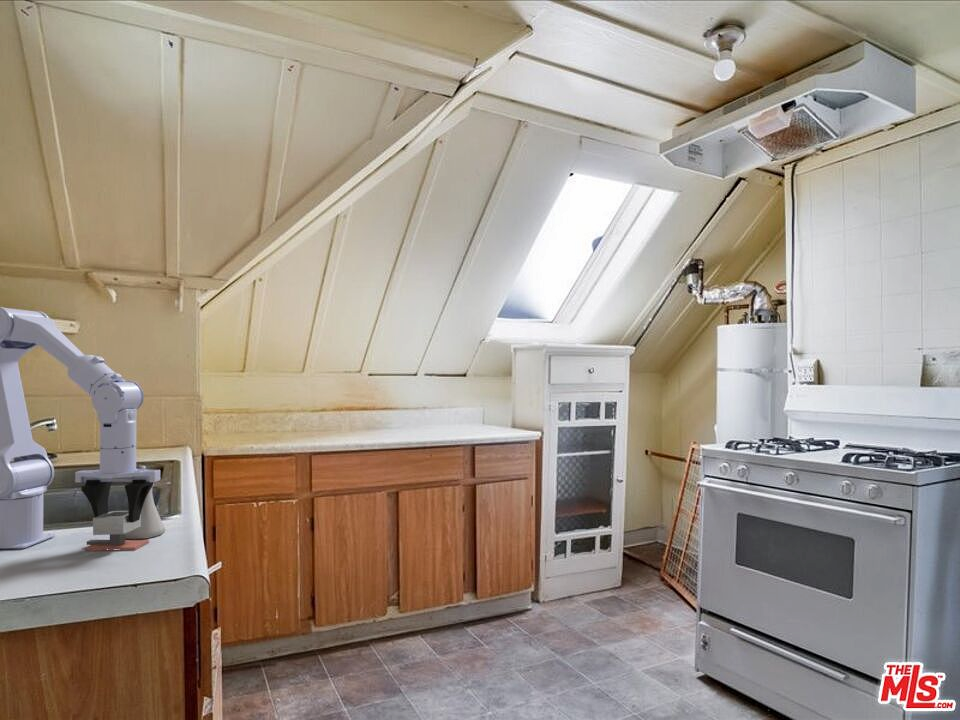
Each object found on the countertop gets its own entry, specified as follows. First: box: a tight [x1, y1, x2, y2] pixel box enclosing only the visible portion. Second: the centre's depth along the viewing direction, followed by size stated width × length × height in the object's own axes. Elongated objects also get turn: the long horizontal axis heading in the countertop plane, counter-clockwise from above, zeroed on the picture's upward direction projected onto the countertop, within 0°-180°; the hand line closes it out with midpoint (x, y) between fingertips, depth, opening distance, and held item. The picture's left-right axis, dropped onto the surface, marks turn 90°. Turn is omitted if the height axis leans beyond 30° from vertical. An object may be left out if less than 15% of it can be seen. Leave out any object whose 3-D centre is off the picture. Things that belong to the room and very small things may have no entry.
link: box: [92, 510, 141, 536], centre depth 107 cm, size 5×5×3 cm
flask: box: [126, 482, 166, 540], centre depth 114 cm, size 7×7×10 cm
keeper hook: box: [84, 533, 150, 551], centre depth 107 cm, size 10×4×5 cm, turn 90°
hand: (117, 521), depth 107 cm, fingers closed on link, 5 cm apart
